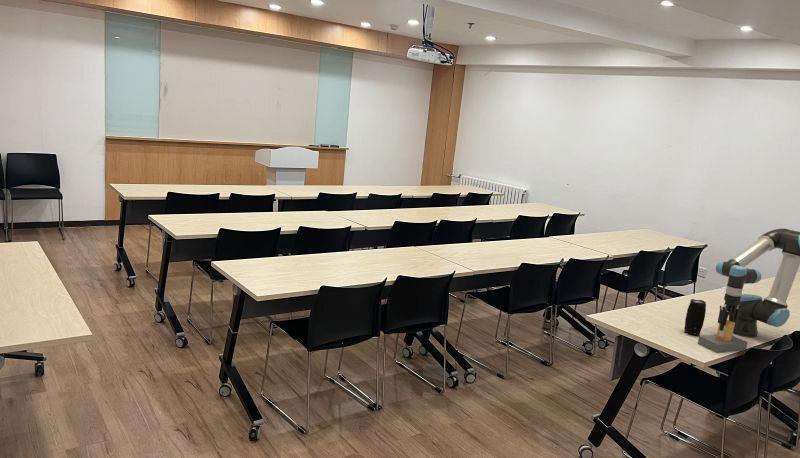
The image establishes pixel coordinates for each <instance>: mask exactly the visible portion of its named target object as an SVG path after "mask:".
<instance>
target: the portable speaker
mask: <svg viewBox="0 0 800 458" xmlns="http://www.w3.org/2000/svg"><path fill="white" fill-rule="evenodd" d="M706 303H707V302H706V301H705V300H702V299H694V298H691V299H690V302H689V305H688V307H687V311H686V313H685V319H684V321H685V322H684V333H685V334H687V335H695V336H696V337H699V336H700V334H701V331H702V329H703V326H704V322H705V318H706V313H707V312H706V310H707V309H706V308H707V304H706Z"/></svg>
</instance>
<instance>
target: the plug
mask: <svg viewBox="0 0 800 458" xmlns="http://www.w3.org/2000/svg"><path fill="white" fill-rule="evenodd" d="M725 325H726V329H725V333H724V337H721V336H719V328H720V324H719V323H718V327H717V332H716V334H715V335H716V338H719V339H721V340H723V341H725V342H728V341H731V339H732V336H733V334H734V333H733V330H734V325H735V322H732V321H730V320H729V319H727V321H726V324H725Z"/></svg>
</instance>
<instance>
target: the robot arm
mask: <svg viewBox="0 0 800 458" xmlns="http://www.w3.org/2000/svg"><path fill="white" fill-rule="evenodd" d="M774 249H780V250H782V251H781V254H782V259H781V262H780V265H779V267H778V269H777V272H776V275H775V277H774V280H773V283H772V286H771V288H770V291H769V294H768V296H766V297H764V298H763V296H761V295H756V294H750V293H748V294H747V293H746V294H745V293H743V290H744V289H743V288H744V285H745V284H748V285H749V284H752V285H753V284H757V283H759V282H761V280H762V273H761V271H759V270H758V269H756V268H747V267H746V266H748V265H749V264H751V263H752V262H754V261H755V260H756V259H758V258H760V257H761V256H762V255H764V254H766V253H767V252H768V251H769V252H771V251H772V250H774ZM799 268H800V231H797V230H793V229H788V228H775V229H773V230H770V231H767V232H765V233H762V235H760V236H759V237H758V239H757V240H756V241H754V242H753V243H752V244H750V245H749V246H748V247H746V248H744V250H741V251H740V252H738V253H737V254H736V255H734V256H733V257H731V258H730V259H729V260H727V261H725V260H719V261H718V262H717V263H716V266H715V271H716V273H717V274H719V275H721V276H724V277H728V279H727V284H726V288H725V291H724V292H725V294H724V297H723V300H724V303H723V305H719V312H718V313H719V314H718V319H717V323H718V325H719V324H720V328H719V336H721V337H724V333H725V329H726V325H725V324H726V321H727V320H730V321H732V322H735V325H734V330H733V334H734V335H737V336H741V337H745V338H757V337H758V336H759V331H758V325H757V324H758V323H757V322H759V323H760V322H761V323H763V324H766V325H768V326H769V327H770V326H772V327H775V328H780V327H782V326H783V325H785V324H786V323H787V321H788V320H789V318H790V316H791V315H790V314H791V313H790V310H789V309H788V306H789V305H788V303H787V301H788V297H789V295H790V292H791V289H792V286H793V284H794V281H795V279H796V276H797V273H798V271H799ZM742 293H743V294H742Z"/></svg>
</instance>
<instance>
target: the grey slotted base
mask: <svg viewBox="0 0 800 458" xmlns="http://www.w3.org/2000/svg"><path fill="white" fill-rule="evenodd" d="M716 335H717V334H707V335H706V334H705V335H699V336H698V342H697V345H700V346H702V347H704V348H706V349H707V350H710V351H711V352H714V353H717V354H718V353H729V352H739V351H747V347H748V341H746V340H744V339H741V338H739V337H736V336H734V335H732V339H731V341H728V342H725V341H723V340H721V339H719V338H716Z"/></svg>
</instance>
